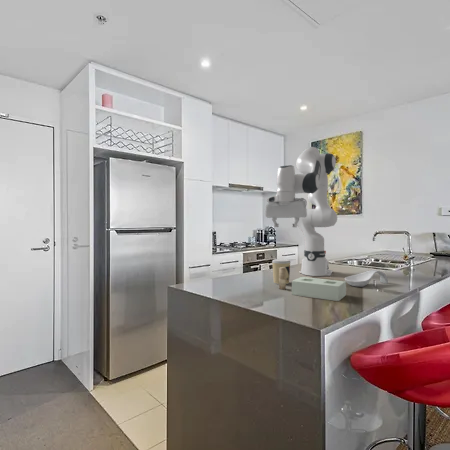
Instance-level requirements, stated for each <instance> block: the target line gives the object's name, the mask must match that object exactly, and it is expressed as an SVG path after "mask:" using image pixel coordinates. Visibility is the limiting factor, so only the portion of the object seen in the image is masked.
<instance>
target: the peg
mask: <svg viewBox="0 0 450 450" xmlns="http://www.w3.org/2000/svg"><path fill="white" fill-rule="evenodd" d="M286 286H287V284H286V268H283V267H281V268H279V284H278V287H279V288H278V289H279V290H282V291H283V290H286V289H287V287H286Z"/></svg>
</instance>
